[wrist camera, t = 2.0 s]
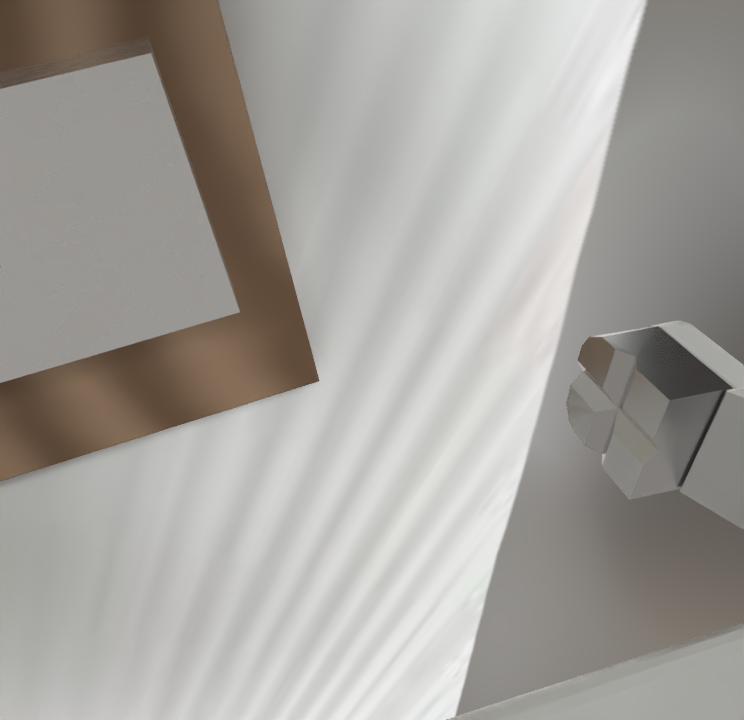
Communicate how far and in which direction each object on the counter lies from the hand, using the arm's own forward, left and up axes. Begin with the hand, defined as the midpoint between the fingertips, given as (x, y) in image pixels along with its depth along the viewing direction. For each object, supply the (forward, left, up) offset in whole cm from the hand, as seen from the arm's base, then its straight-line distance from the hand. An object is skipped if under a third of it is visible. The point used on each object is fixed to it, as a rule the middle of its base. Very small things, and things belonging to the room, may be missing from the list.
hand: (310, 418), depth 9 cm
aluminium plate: (+7, +6, -24) cm, 25 cm away
